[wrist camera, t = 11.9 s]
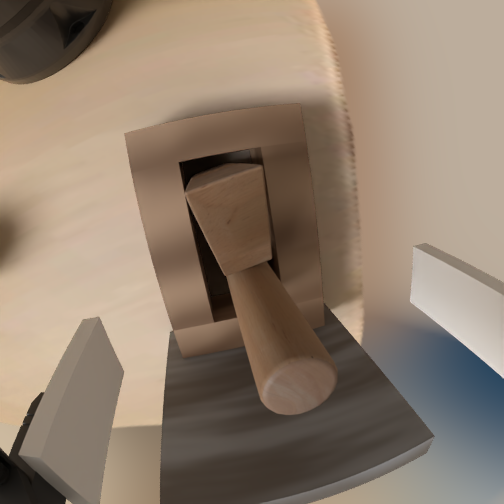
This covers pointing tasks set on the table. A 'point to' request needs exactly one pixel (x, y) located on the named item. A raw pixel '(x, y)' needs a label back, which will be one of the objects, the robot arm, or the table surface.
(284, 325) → the wooden block
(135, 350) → the table surface
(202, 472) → the post block
